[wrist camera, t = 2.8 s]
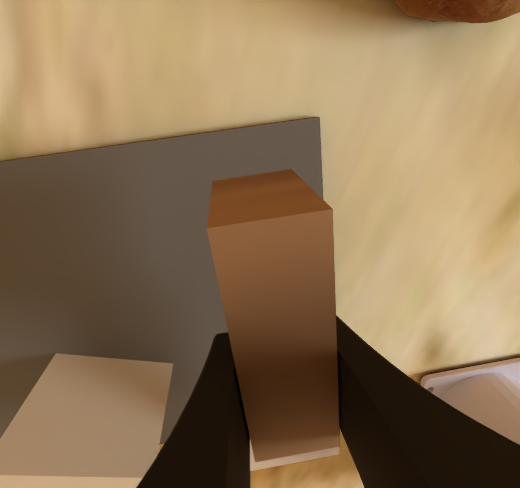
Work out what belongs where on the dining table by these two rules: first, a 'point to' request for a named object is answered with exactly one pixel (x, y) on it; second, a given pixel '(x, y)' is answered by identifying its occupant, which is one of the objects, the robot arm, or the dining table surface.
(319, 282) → the tall brown post
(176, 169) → the mat
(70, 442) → the flat beige block
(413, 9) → the bread roll
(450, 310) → the dining table surface
